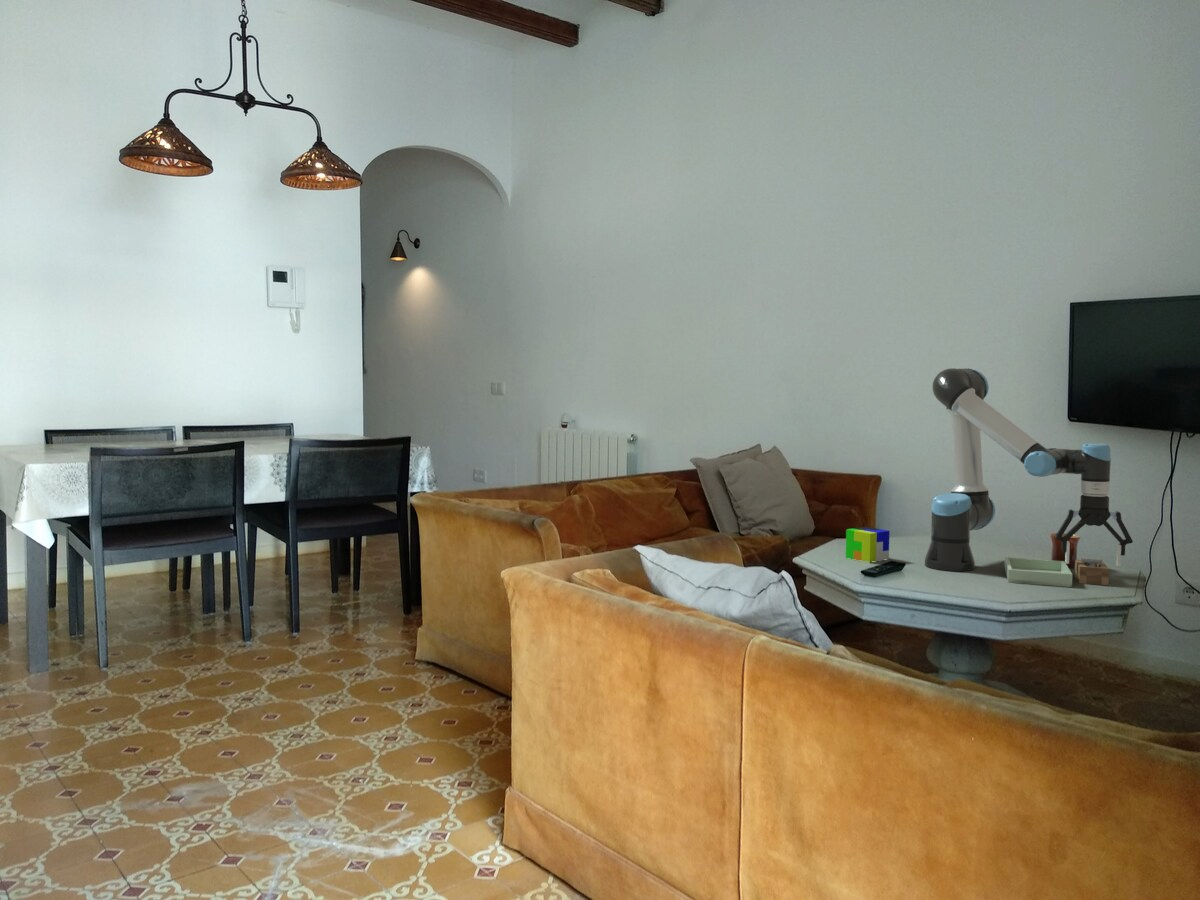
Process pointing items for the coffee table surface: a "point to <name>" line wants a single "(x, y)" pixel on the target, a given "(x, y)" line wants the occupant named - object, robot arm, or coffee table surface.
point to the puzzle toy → (867, 544)
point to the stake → (1091, 561)
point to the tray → (1038, 572)
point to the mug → (1060, 555)
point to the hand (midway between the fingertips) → (1092, 564)
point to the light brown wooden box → (1091, 573)
